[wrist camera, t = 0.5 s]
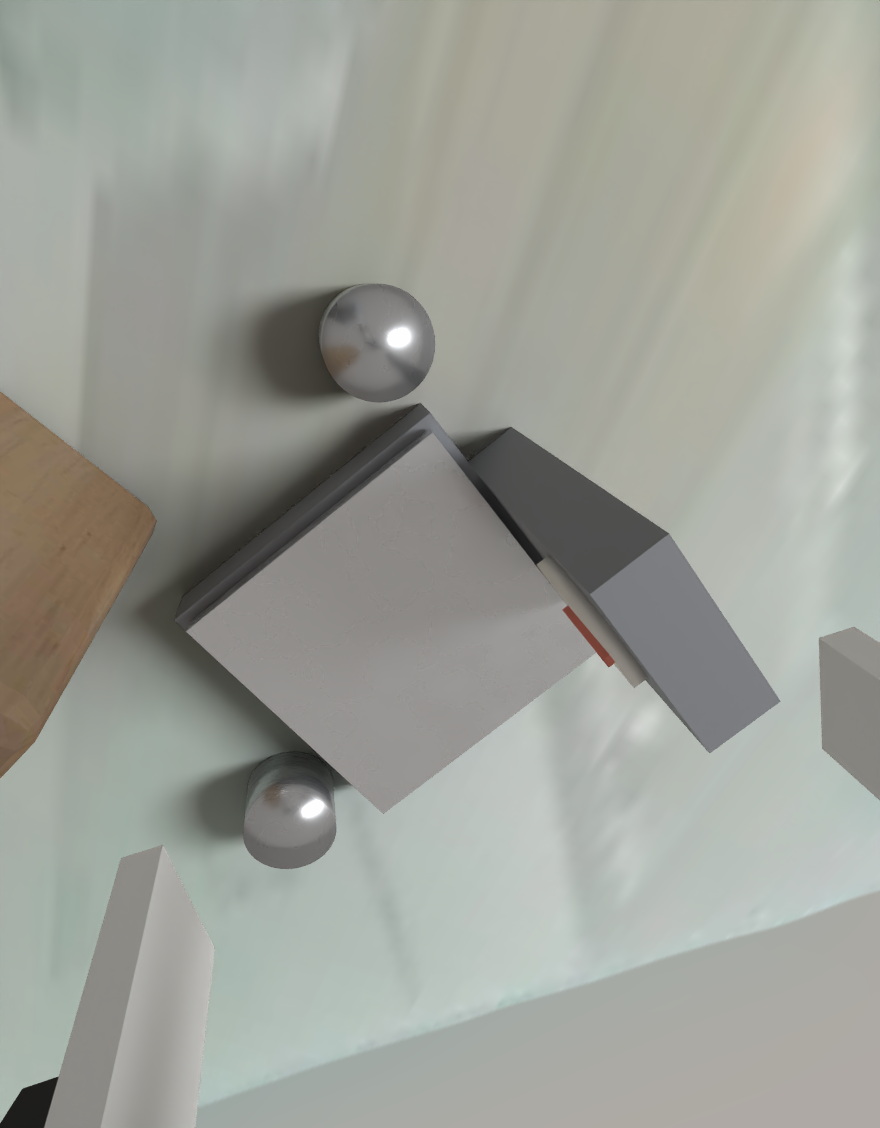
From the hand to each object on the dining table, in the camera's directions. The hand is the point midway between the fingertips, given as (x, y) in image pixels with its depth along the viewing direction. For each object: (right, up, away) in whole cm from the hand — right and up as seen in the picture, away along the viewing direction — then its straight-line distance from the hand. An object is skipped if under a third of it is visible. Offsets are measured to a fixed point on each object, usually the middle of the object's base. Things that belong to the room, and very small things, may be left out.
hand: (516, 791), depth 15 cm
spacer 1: (-10, -9, +30) cm, 33 cm away
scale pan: (-4, +2, +27) cm, 27 cm away
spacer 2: (-5, +15, +22) cm, 27 cm away
